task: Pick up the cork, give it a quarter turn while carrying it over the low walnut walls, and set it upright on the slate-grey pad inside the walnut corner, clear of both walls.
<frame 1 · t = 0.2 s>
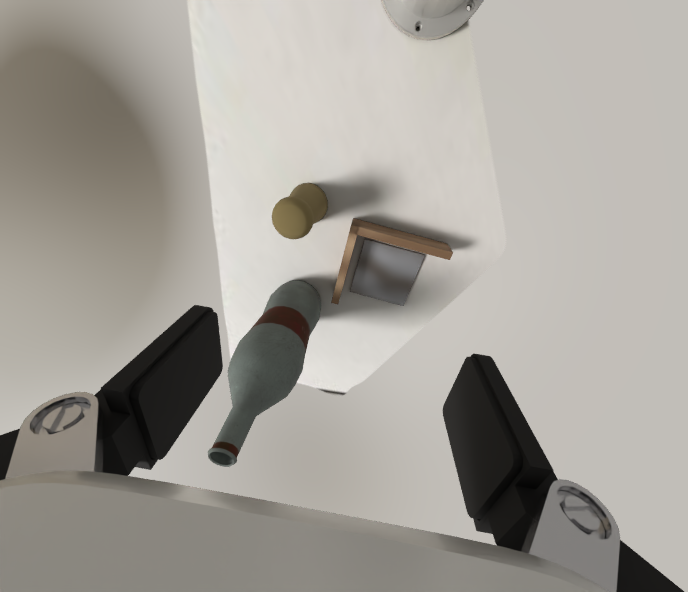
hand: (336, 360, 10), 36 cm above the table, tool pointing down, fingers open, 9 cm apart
corner arena: (385, 273, 47), on the table
cork: (308, 203, 43), on the table
bottle: (299, 298, 52), on the table
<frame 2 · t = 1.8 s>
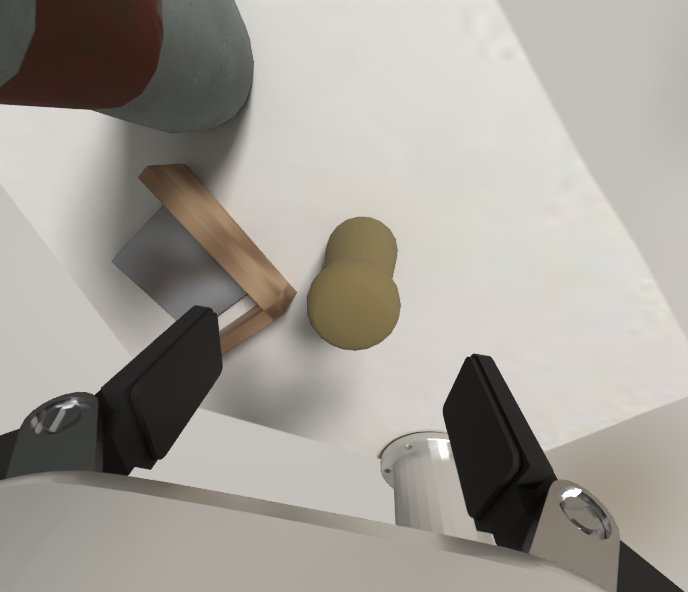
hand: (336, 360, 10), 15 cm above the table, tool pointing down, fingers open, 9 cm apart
corner arena: (185, 272, 26), on the table
cork: (361, 251, 24), on the table
bottle: (198, 59, 19), on the table
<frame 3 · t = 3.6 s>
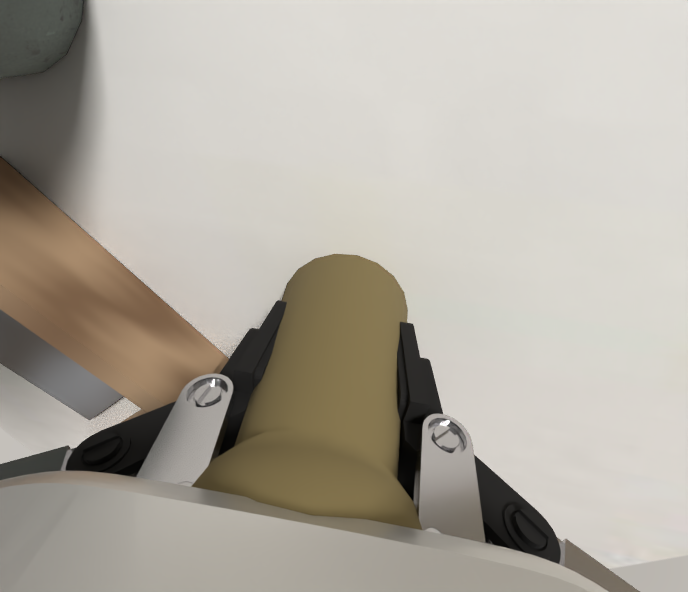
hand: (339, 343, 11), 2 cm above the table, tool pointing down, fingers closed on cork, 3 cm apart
corner arena: (57, 336, 16), on the table
cork: (344, 310, 14), on the table, touching gripper
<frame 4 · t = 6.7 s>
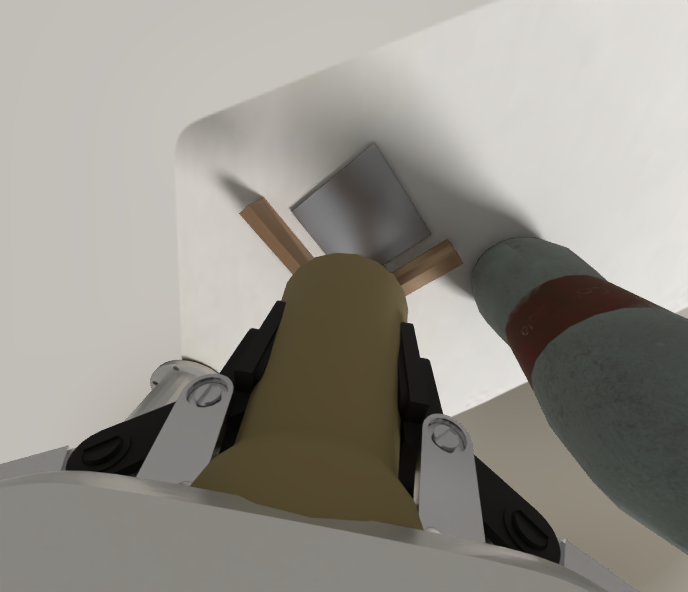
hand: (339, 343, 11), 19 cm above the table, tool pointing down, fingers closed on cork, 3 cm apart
corner arena: (361, 221, 28), on the table
cork: (344, 310, 13), point 17 cm above the table, touching gripper
bottle: (510, 273, 29), on the table
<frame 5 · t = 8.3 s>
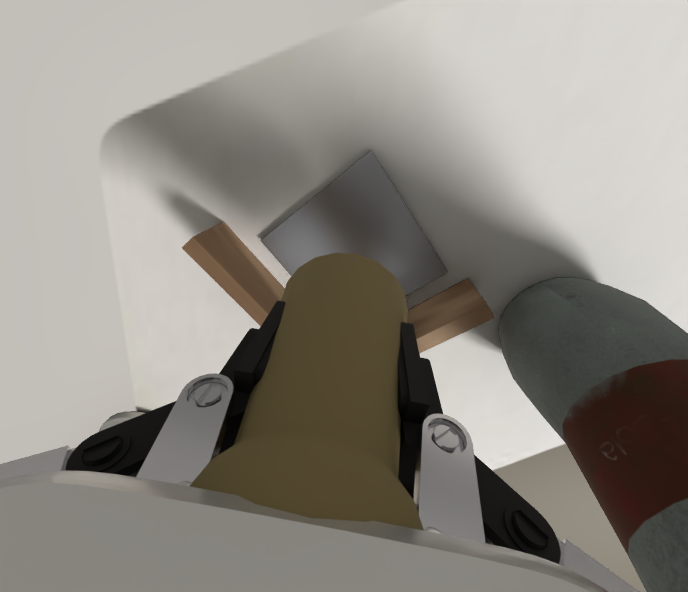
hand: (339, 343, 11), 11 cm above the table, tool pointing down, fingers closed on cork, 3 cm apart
corner arena: (354, 254, 21), on the table
cork: (344, 309, 13), point 8 cm above the table, touching gripper
bottle: (549, 321, 22), on the table
when the fingers open (5 cm above the table, at t = 9.9 s): cork stays where it is, resting on corner arena.
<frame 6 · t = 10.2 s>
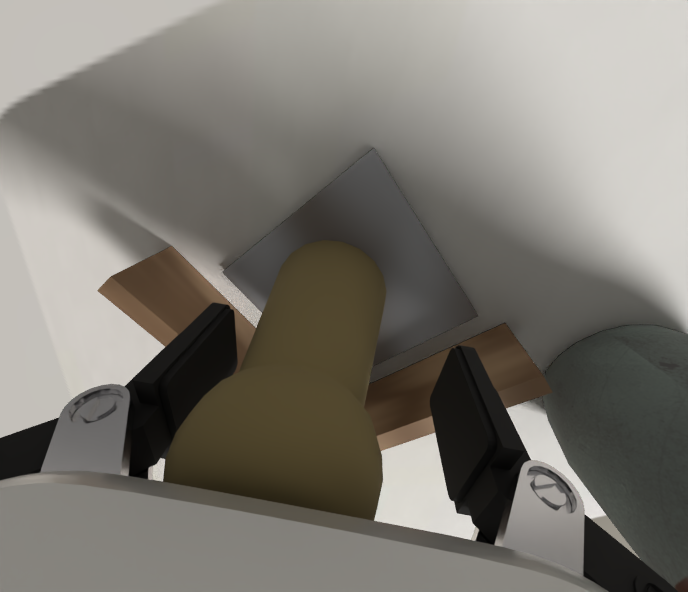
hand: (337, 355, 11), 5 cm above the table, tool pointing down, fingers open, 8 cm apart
corner arena: (349, 290, 15), on the table
cork: (331, 291, 15), resting on corner arena
bottle: (611, 377, 17), on the table
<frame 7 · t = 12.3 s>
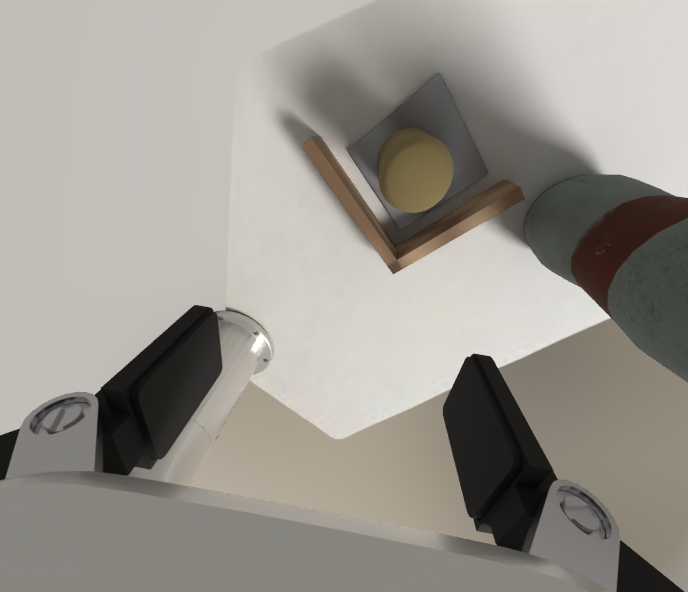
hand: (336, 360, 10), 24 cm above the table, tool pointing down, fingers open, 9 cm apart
corner arena: (417, 161, 28), on the table
cork: (407, 162, 28), resting on corner arena
bottle: (565, 217, 29), on the table
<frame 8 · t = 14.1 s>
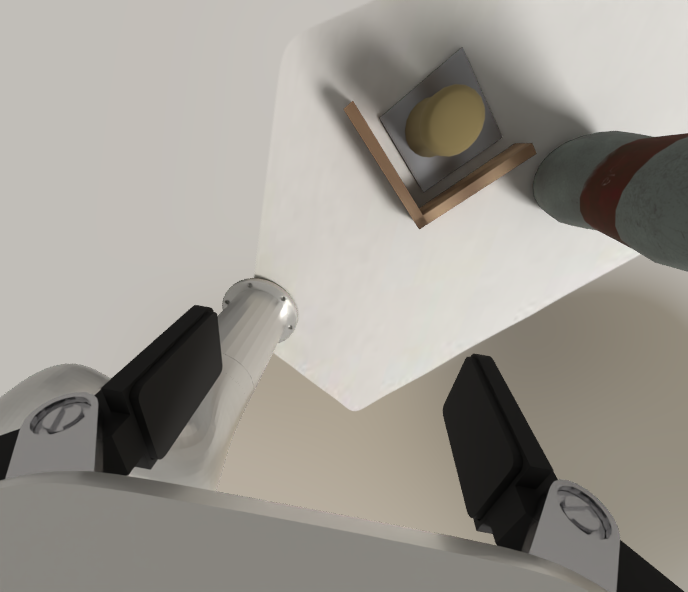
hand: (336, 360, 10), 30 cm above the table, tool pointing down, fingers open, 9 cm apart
corner arena: (440, 127, 32), on the table
cork: (431, 128, 32), resting on corner arena
bottle: (567, 177, 33), on the table
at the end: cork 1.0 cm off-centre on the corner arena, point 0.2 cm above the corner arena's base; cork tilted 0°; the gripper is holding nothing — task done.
